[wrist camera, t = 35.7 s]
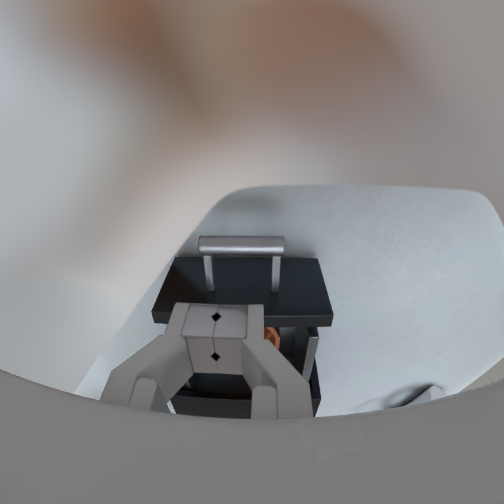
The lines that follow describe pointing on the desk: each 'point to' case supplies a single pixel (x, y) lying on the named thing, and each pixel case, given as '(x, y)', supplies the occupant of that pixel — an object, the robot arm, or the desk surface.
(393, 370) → the desk surface
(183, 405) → the black drawer cabinet
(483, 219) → the desk surface
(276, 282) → the drawer
